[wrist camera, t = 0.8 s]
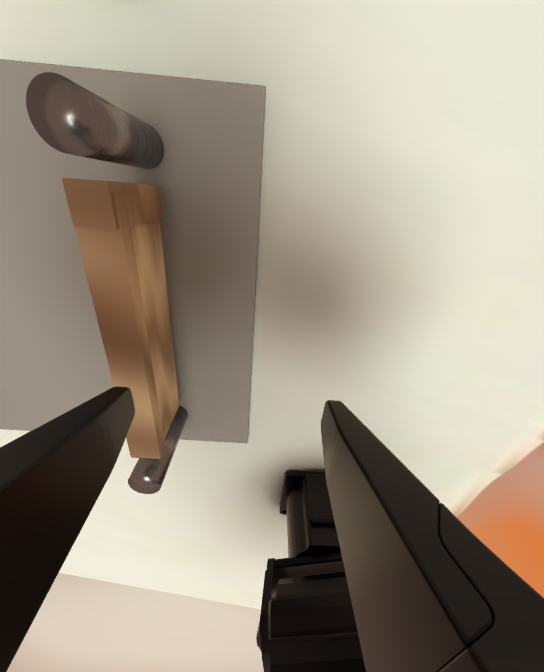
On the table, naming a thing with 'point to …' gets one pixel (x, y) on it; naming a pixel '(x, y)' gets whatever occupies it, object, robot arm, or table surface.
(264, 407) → the table surface
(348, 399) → the table surface
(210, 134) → the mat
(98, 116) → the gate posts
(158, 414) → the gate
